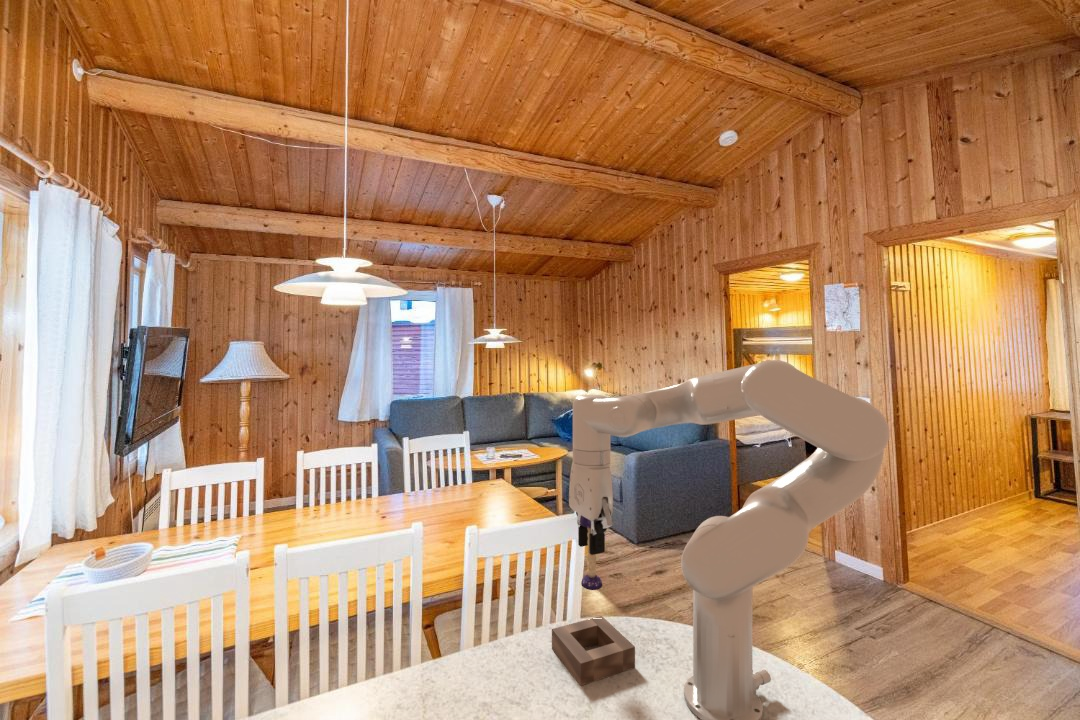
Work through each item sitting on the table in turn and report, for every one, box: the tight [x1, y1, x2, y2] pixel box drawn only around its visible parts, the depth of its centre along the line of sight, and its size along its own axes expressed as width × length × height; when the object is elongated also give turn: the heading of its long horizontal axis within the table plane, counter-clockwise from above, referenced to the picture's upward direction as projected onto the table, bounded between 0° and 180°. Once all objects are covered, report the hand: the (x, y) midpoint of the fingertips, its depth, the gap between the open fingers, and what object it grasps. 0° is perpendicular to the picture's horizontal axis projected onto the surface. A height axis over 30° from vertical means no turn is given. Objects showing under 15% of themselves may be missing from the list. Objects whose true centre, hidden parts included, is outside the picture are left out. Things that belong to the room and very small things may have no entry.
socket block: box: [551, 615, 636, 686], centre depth 92 cm, size 12×12×4 cm
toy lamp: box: [580, 514, 603, 591], centre depth 92 cm, size 5×5×17 cm
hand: (591, 548), depth 92 cm, fingers closed on toy lamp, 3 cm apart
